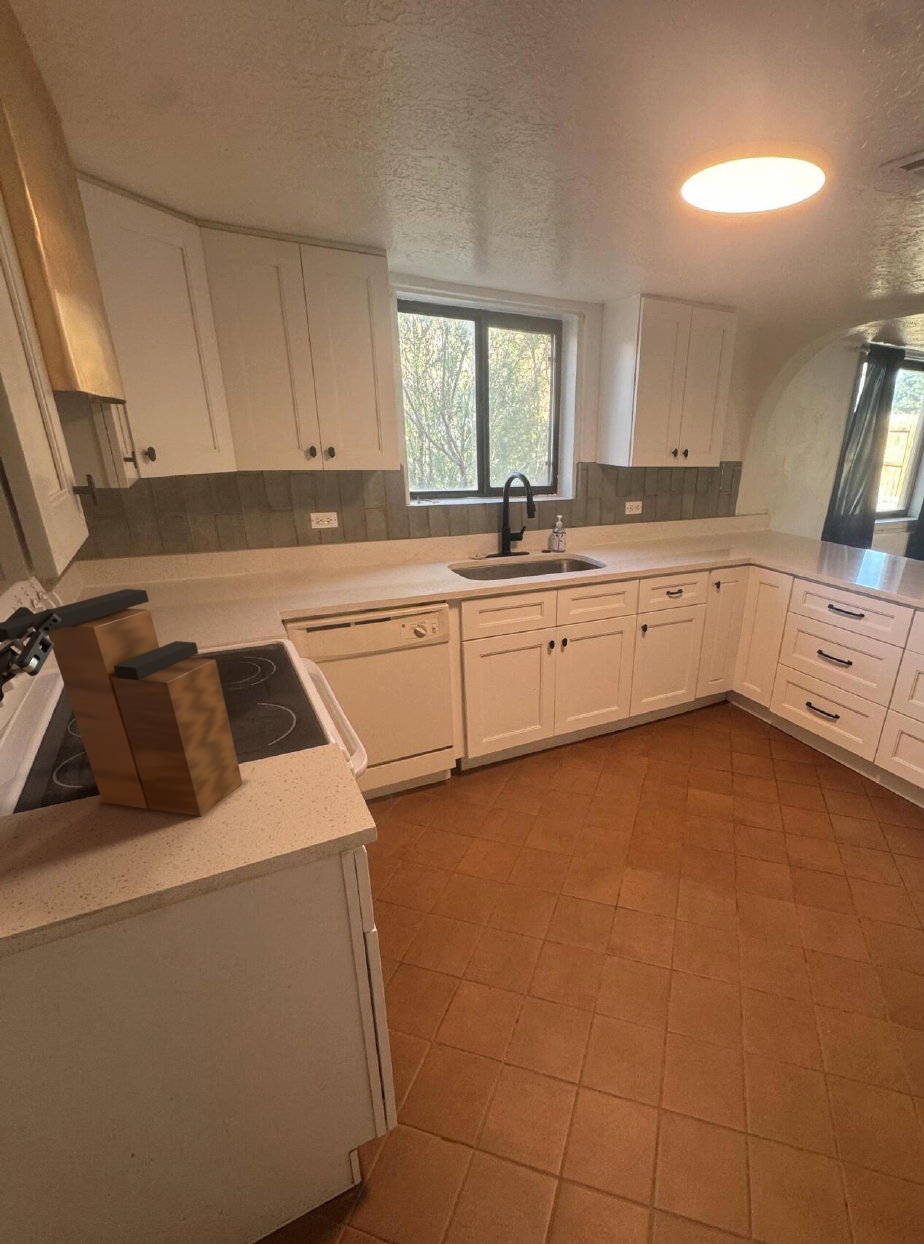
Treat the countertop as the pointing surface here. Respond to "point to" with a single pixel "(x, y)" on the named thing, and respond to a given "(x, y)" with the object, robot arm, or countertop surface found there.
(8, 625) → the long pad
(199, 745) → the step stand
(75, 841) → the countertop surface
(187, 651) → the short pad
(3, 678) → the robot arm
